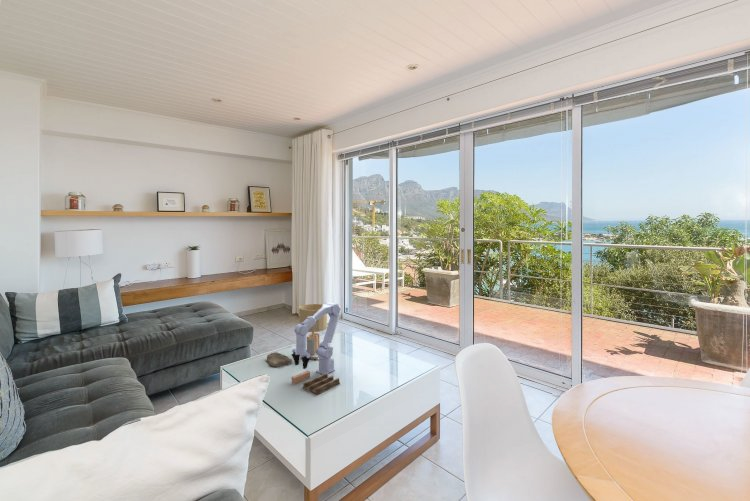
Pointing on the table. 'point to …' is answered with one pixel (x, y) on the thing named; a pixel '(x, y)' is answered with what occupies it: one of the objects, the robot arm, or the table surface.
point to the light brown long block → (300, 377)
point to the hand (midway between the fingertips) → (300, 366)
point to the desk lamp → (313, 327)
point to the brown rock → (278, 359)
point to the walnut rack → (320, 384)
